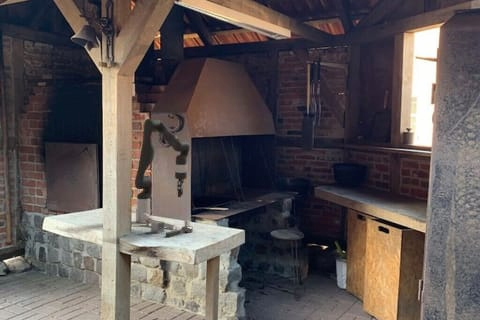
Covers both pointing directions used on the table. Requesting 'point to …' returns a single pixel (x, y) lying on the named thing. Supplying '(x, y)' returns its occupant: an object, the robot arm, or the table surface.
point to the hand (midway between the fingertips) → (180, 195)
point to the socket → (157, 227)
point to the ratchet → (181, 230)
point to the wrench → (149, 220)
